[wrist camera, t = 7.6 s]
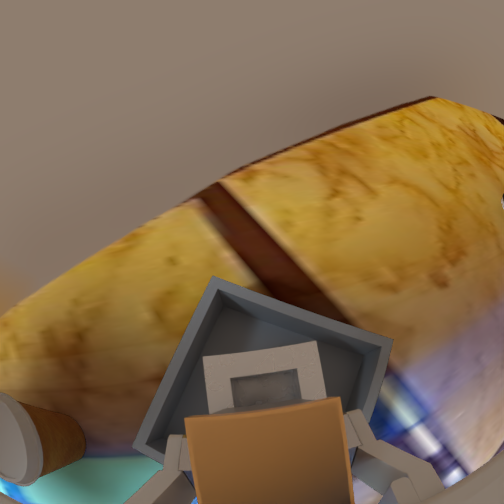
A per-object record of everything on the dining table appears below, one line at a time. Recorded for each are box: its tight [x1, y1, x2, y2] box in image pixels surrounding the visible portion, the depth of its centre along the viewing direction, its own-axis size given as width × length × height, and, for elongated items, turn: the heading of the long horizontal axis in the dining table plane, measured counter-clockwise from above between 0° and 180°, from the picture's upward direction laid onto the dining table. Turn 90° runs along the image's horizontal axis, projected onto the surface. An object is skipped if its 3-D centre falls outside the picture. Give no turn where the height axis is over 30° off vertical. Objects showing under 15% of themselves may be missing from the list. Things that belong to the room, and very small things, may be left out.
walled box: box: [132, 276, 394, 465], centre depth 24 cm, size 18×18×6 cm
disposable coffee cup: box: [0, 393, 86, 486], centre depth 18 cm, size 10×10×12 cm
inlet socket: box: [203, 341, 327, 414], centre depth 23 cm, size 9×9×6 cm
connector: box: [184, 397, 355, 504], centre depth 9 cm, size 4×4×8 cm
